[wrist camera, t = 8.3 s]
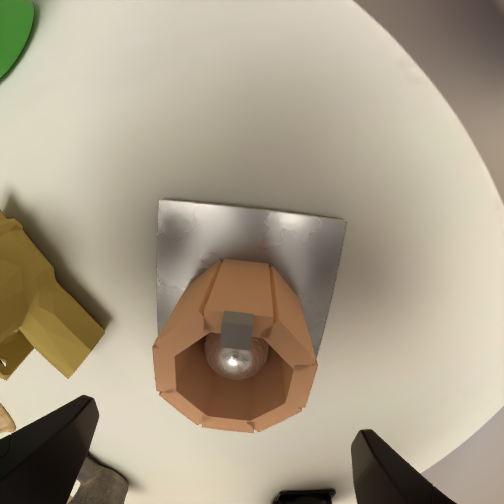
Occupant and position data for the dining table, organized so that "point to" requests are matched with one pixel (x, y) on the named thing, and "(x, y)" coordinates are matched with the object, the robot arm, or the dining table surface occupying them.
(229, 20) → the dining table surface
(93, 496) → the pipe
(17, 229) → the ball valve
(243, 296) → the collar
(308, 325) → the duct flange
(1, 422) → the hand bell
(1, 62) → the bottle
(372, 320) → the dining table surface
